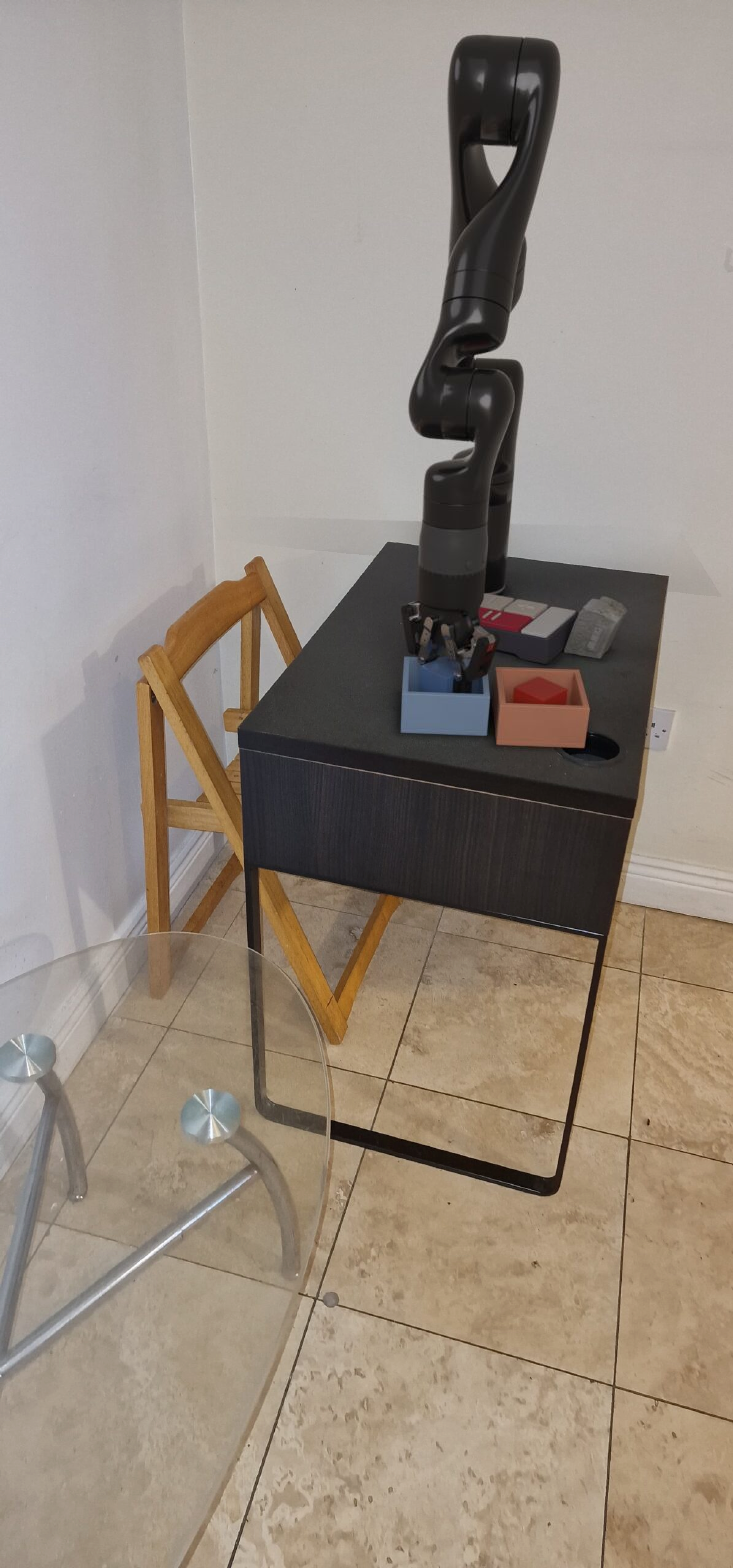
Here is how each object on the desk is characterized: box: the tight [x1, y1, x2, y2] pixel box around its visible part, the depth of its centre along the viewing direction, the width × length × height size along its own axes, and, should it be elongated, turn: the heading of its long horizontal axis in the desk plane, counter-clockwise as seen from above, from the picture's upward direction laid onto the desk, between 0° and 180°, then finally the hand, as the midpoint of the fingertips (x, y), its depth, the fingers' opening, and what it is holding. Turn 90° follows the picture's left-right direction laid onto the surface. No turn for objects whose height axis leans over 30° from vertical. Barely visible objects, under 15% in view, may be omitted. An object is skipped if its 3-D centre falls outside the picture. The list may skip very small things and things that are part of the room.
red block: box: [513, 677, 568, 705], centre depth 119 cm, size 4×4×4 cm
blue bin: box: [400, 656, 491, 737], centre depth 121 cm, size 10×10×5 cm
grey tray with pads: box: [474, 593, 579, 665], centre depth 141 cm, size 11×4×15 cm
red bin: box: [491, 666, 591, 749], centre depth 119 cm, size 10×10×5 cm
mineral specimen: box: [563, 596, 628, 660], centre depth 136 cm, size 7×9×8 cm
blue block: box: [419, 655, 465, 693], centre depth 120 cm, size 4×4×4 cm
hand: (444, 697), depth 121 cm, fingers closed on blue block, 4 cm apart
